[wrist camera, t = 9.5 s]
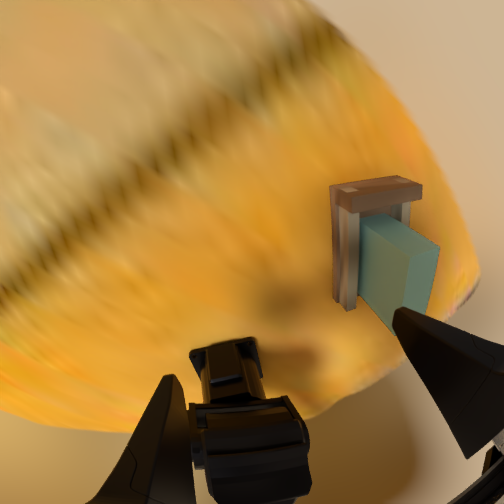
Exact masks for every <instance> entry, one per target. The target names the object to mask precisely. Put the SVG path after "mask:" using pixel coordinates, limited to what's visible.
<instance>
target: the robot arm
mask: <svg viewBox="0 0 504 504" xmlns="http://www.w3.org/2000/svg"><path fill="white" fill-rule="evenodd" d="M392 328H393V330H394V332H395V334H396V336H397V338H398V340H399V342H400V344H401V346H402V348H403V350H404V352H405V354H406V355H407V357H408V359H409V360H410V362H411V364H412V365H413V367H414V368H415V370H416V371H417V373H418V374H419V376H420V378H421V379H422V381H423V382H424V384H425V386H426V388H427V389H428V391H429V393H430V394H431V396H432V398H433V399H434V401H435V403H436V404H437V406H438V408H439V410H440V411H441V413H442V415H443V417H444V418H445V420H446V422H447V424H448V425H449V427H450V429H451V431H452V433H453V435H454V437H455V439H456V441H457V442H458V444H459V446H460V448H461V450H462V452H463V454H464V456H465V458H466V459H469V458H470V457H471V456H473V455H474V454H475V453H476V452H478V451H479V450H480V449H481V448H483V447H484V446H485V445H486V444H487V443H488V442H490V441H491V440H492V441H493V443H494V445H493V446H492V447H491V448H490V449H489V450H488V451H487V452H486V457H485V461H484V466H483V471H482V476H481V477H480V478H479V479H477V480H476V481H475V482H474V483H473V484H472V485H470V486H469V487H468V488H467V489H466V490H465V491H463V492H462V493H461V494H459V495H458V496H457V497H456V498H454V499H453V500H451V501H450V502H449V503H447V504H504V345H501V344H497V343H494V342H491V341H488V340H485V339H483V338H480V337H478V336H475V335H473V334H470V333H468V332H465V331H462V330H460V329H458V328H456V327H453V326H451V325H448V324H446V323H443V322H441V321H439V320H436V319H434V318H431V317H429V316H426V315H424V314H421V313H419V312H417V311H414V310H412V309H409V308H407V307H404V306H402V307H400V308H397V309H395V311H394V315H393V320H392ZM249 342H251V343H249ZM193 355H195V356H193ZM189 358H190V360H191V362H192V364H193V366H194V368H195V370H196V372H197V374H198V376H199V378H200V380H201V384H202V394H203V404H195V403H189V410H186V404H185V398H184V392H183V388H182V386H181V384H180V382H179V381H178V379H177V377H176V376H175V375H174V374H168V375H164V376H163V377H162V379H161V381H160V383H159V385H158V387H157V389H156V390H155V392H154V394H153V396H152V398H151V400H150V402H149V404H148V406H147V407H146V409H145V411H144V413H143V415H142V417H141V419H140V421H139V423H138V425H137V427H136V428H135V430H134V432H133V434H132V437H131V438H130V440H129V442H128V444H127V446H126V448H125V450H124V452H123V454H122V455H121V457H120V459H119V461H118V463H117V464H116V466H115V468H114V469H113V471H112V472H111V474H110V475H109V477H108V478H107V480H106V481H105V483H104V484H103V486H102V487H101V489H100V490H99V492H98V493H97V494H96V495H95V496H94V497H93V499H91V500H90V501H89V502H87V503H85V504H196V496H195V488H194V478H193V468H192V462H194V467H195V470H202V469H204V470H205V477H206V482H207V487H208V491H209V494H210V495H211V496H212V497H213V498H214V500H215V501H216V502H217V503H218V504H294V503H295V501H296V500H297V498H298V497H301V496H305V495H308V494H309V491H310V488H311V485H312V480H311V475H310V471H309V466H308V458H307V454H308V452H309V448H310V439H309V433H308V429H307V427H306V425H305V422H304V421H303V419H302V418H301V416H300V415H299V413H298V412H297V410H296V408H295V407H294V405H293V404H292V402H291V401H290V399H289V398H288V396H287V395H286V396H281V397H278V398H270V399H266V396H265V393H264V389H263V386H262V383H261V378H262V377H263V374H262V370H261V366H260V362H259V358H258V353H257V349H256V345H255V341H254V339H253V338H246V339H242V340H237V341H233V342H229V343H225V344H220V345H216V346H211V347H207V348H202V349H197V350H192V351H190V352H189Z"/></svg>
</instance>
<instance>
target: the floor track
mask: <svg viewBox="0 0 504 504" xmlns="http://www.w3.org/2000/svg"><path fill="white" fill-rule="evenodd" d="M420 199H422V185H421V184H419V183H416V182H414V181H411V180H408V179H406V178H403V177H400V176H397V175H396V176H389V177H382V178H375V179H369V180H362V181H356V182H350V183H344V184H338V185H332V186H330V201H331V218H332V242H333V299H334V300H335V302H336V303H339V302H340V304H341V305H342V306H343V308H344V309H345V310H346V312H347V311H350V310H353V309H355V308H356V300H357V296H360V295H359V294H358V292H357V286H358V267H359V218H364V217H369V216H373V215H378V214H382V213H385V214H387V215H389V216H391V217H392V218H394V219H396V220H398V221H399V222H401V223H403V224H404V225H406V226H408V227H409V222H410V205H411V201H415V200H420Z"/></svg>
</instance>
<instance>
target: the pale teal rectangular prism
mask: <svg viewBox="0 0 504 504" xmlns="http://www.w3.org/2000/svg"><path fill="white" fill-rule="evenodd" d="M439 250H440V247H439V246H438V245H436V244H435V243H433V242H432V241H430V240H429V239H427V238H425V237H424V236H422V235H421V234H419V233H417V232H416V231H414V230H413V229H411V228H409V227H408V226H406V225H404V224H403V223H401V222H399V221H398V220H396V219H394V218H392V217H391V216H389V215H387V214H385V213H382V214H378V215H373V216H369V217H364V218H359V267H358V286H357V292H358V294H359V295H360V296H361V297H362V298H363V299H364V300H365V302H366V303H367V304H368V305H369V306H370V307H371V309H372V310H373V311H374V312H375V313H376V314H377V316H378V317H379V318H380V319H381V320H382V321H383V323H384V324H385V325H386V326H387V327H388V329H389V330H390V331H391V332H392V333H393V335H394V336H396V334H395V332H394V330H393V328H392V320H393V315H394V311H395V309H397V308H400V307H402V306H404V307H407V308H409V309H412V310H414V311H417V312H419V313H421V314H424V315H425V312H426V308H427V305H428V301H429V297H430V293H431V289H432V285H433V280H434V276H435V271H436V266H437V261H438V256H439Z"/></svg>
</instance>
